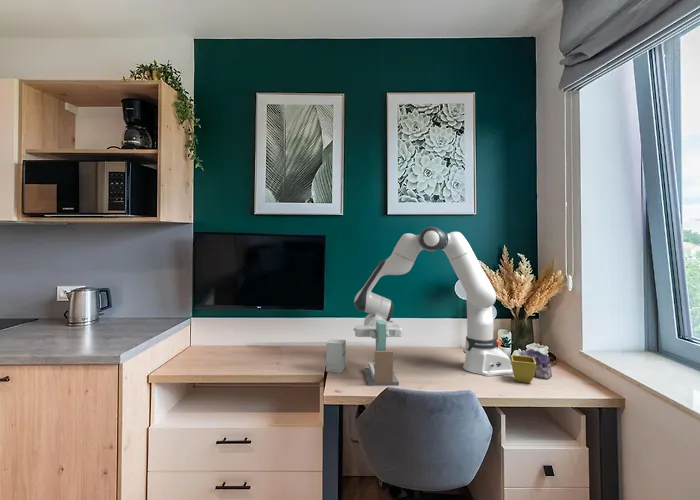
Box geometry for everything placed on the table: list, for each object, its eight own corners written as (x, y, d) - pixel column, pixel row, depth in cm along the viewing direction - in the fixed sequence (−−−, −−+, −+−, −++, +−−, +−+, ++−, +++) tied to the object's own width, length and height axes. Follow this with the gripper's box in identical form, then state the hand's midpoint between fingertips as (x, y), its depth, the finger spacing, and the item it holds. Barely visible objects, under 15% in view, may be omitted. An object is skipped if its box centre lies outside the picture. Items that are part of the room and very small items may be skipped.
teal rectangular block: (382, 353, 164) (383, 320, 164) (385, 358, 156) (386, 324, 156) (375, 353, 164) (375, 320, 163) (378, 358, 156) (378, 324, 155)
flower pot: (535, 385, 153) (536, 363, 153) (512, 383, 156) (512, 360, 156) (533, 378, 162) (533, 357, 162) (510, 376, 165) (510, 354, 164)
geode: (563, 380, 160) (561, 357, 160) (534, 383, 161) (532, 360, 160) (542, 363, 180) (540, 342, 180) (516, 366, 181) (514, 345, 181)
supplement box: (342, 373, 166) (342, 343, 166) (325, 371, 168) (325, 342, 167) (345, 367, 173) (346, 339, 173) (329, 366, 175) (330, 338, 175)
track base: (390, 370, 170) (391, 340, 170) (398, 385, 152) (399, 351, 152) (363, 370, 169) (363, 340, 169) (368, 385, 151) (368, 352, 151)
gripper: (353, 321, 173) (355, 327, 159) (398, 321, 174) (405, 327, 160) (352, 335, 173) (355, 343, 159) (398, 335, 174) (404, 343, 160)
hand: (380, 335), depth 160 cm, fingers closed on teal rectangular block, 3 cm apart
